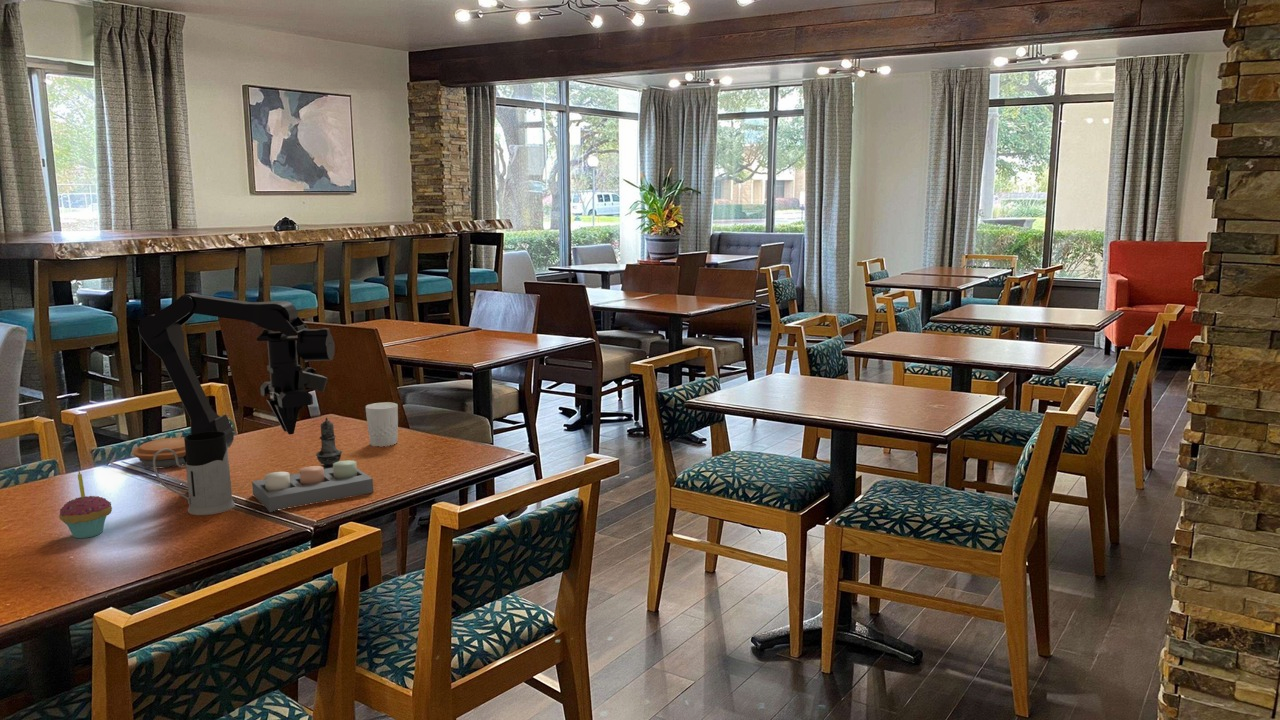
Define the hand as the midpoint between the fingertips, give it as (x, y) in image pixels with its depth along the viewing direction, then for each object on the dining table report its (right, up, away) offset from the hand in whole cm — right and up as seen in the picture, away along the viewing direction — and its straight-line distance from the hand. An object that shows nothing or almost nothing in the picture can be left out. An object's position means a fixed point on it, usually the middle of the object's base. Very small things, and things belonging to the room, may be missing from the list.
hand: (288, 432), depth 199 cm
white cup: (+10, -6, +38) cm, 40 cm away
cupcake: (-28, -17, -26) cm, 41 cm away
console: (+6, -13, -3) cm, 15 cm away
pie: (-38, -9, +24) cm, 46 cm away
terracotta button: (+6, -11, -4) cm, 13 cm away
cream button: (+1, -11, -8) cm, 14 cm away
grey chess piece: (+3, -10, +16) cm, 19 cm away
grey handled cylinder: (-13, -15, -13) cm, 24 cm away
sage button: (+12, -10, 0) cm, 16 cm away
